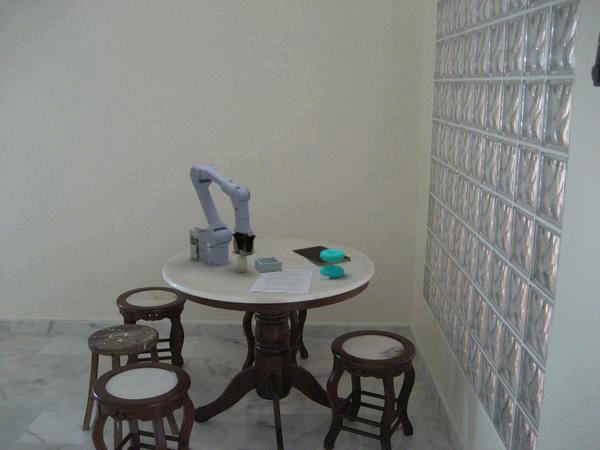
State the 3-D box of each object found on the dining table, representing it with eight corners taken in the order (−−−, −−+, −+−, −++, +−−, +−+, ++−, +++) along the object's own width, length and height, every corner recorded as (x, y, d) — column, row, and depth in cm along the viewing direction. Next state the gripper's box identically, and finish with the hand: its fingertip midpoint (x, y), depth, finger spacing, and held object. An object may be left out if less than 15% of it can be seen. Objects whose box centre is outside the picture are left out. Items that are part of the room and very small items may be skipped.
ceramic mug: (232, 250, 307) (231, 234, 305) (249, 248, 310) (248, 232, 308) (239, 256, 297) (239, 240, 295) (256, 254, 301) (256, 238, 299)
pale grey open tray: (260, 272, 270) (260, 264, 269) (255, 266, 278) (254, 258, 277) (281, 270, 273) (281, 262, 272) (275, 264, 281) (275, 256, 280)
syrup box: (190, 260, 292) (188, 228, 288) (201, 257, 296) (199, 225, 292) (197, 262, 288) (196, 230, 284) (208, 259, 292) (207, 228, 288)
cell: (238, 272, 269) (238, 257, 268) (236, 270, 273) (236, 254, 271) (248, 271, 271) (248, 256, 269) (246, 269, 274) (245, 253, 273)
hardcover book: (319, 267, 282) (319, 262, 281) (292, 255, 301) (292, 250, 301) (350, 262, 290) (350, 256, 289) (322, 250, 309) (322, 245, 309)
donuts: (343, 255, 262) (318, 254, 264) (343, 279, 264) (318, 278, 266) (345, 248, 272) (321, 248, 273) (345, 272, 274) (321, 271, 276)
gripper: (226, 217, 272) (229, 250, 275) (240, 221, 260) (243, 255, 262) (241, 215, 276) (244, 247, 278) (256, 218, 263) (259, 252, 265)
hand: (245, 251), depth 270 cm, fingers open, 7 cm apart
